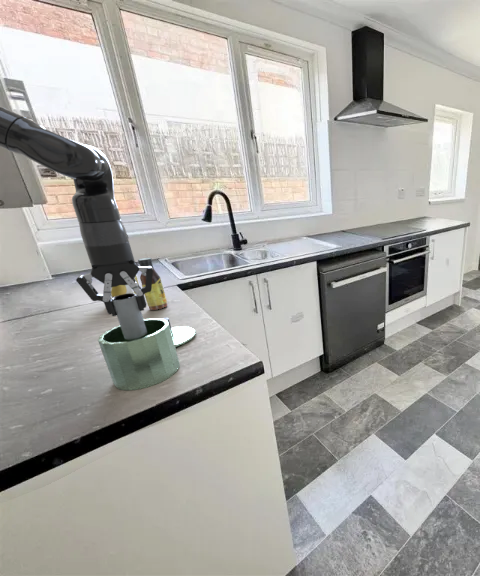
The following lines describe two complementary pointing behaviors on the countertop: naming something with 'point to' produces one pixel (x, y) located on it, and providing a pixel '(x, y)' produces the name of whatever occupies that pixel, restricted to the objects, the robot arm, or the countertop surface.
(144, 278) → the sauce bottle
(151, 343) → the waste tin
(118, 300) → the grey tube
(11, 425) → the countertop surface
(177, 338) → the tin lid
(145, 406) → the countertop surface
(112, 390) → the countertop surface
